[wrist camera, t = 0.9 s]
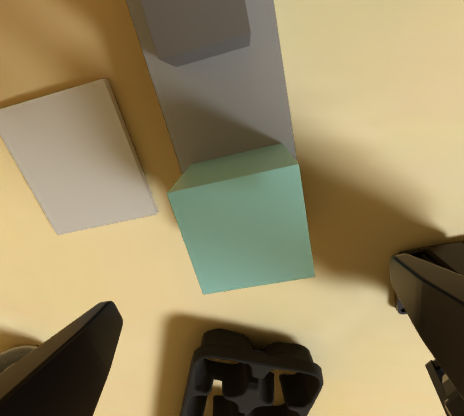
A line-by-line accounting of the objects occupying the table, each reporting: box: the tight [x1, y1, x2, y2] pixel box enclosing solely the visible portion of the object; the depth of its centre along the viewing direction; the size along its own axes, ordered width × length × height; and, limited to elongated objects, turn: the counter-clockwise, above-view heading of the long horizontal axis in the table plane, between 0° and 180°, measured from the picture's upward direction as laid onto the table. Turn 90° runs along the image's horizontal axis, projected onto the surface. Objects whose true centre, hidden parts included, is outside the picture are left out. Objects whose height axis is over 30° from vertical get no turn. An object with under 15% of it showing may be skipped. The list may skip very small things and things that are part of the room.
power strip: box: [126, 0, 297, 174], centre depth 15 cm, size 20×7×6 cm, turn 14°
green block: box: [167, 143, 315, 295], centre depth 15 cm, size 6×6×7 cm
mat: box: [0, 78, 159, 235], centre depth 19 cm, size 10×9×1 cm
